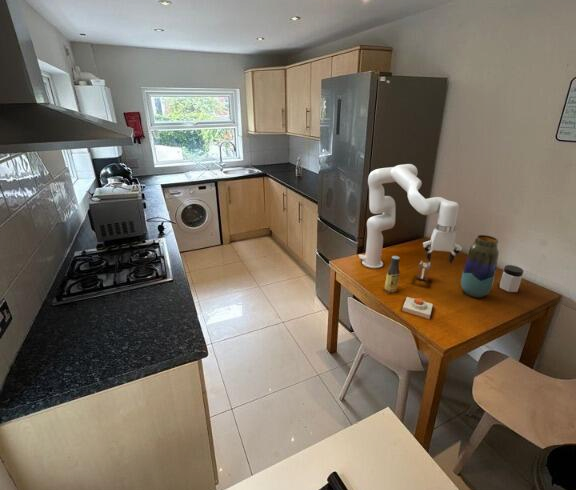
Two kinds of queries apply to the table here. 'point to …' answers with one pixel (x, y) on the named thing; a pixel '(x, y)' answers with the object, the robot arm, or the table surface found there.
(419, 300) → the button
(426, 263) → the toaster lever
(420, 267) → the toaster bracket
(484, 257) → the vase
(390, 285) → the sauce bottle
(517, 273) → the jar
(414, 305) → the block
